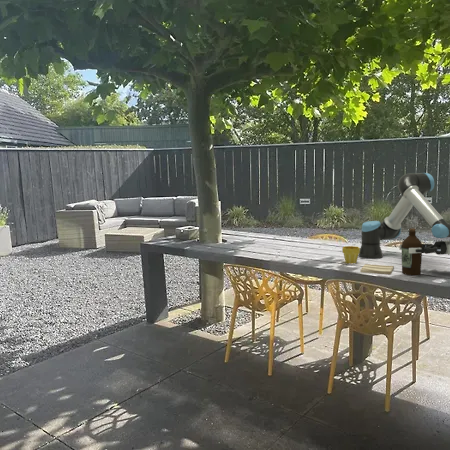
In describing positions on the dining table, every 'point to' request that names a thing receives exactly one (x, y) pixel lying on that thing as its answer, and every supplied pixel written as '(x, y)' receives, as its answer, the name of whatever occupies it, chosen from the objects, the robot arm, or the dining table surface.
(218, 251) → the dining table surface
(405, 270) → the olive oil
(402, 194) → the robot arm
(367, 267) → the ash board
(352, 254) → the plant pot
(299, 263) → the dining table surface
